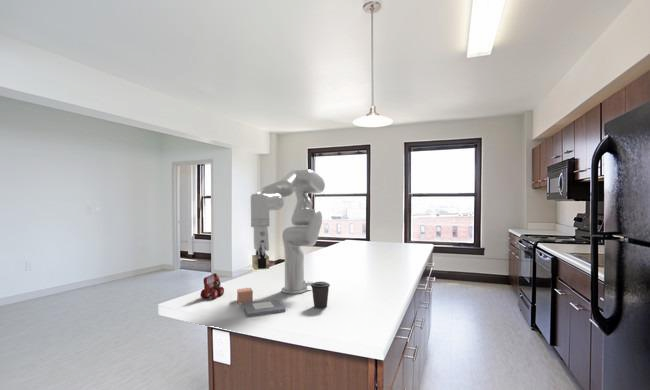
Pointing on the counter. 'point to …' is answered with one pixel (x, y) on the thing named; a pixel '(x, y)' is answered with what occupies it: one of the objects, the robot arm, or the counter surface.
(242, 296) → the terracotta brick
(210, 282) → the toy fire truck
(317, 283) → the coffee cup
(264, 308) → the baseplate
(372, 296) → the counter surface
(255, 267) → the oak brick
